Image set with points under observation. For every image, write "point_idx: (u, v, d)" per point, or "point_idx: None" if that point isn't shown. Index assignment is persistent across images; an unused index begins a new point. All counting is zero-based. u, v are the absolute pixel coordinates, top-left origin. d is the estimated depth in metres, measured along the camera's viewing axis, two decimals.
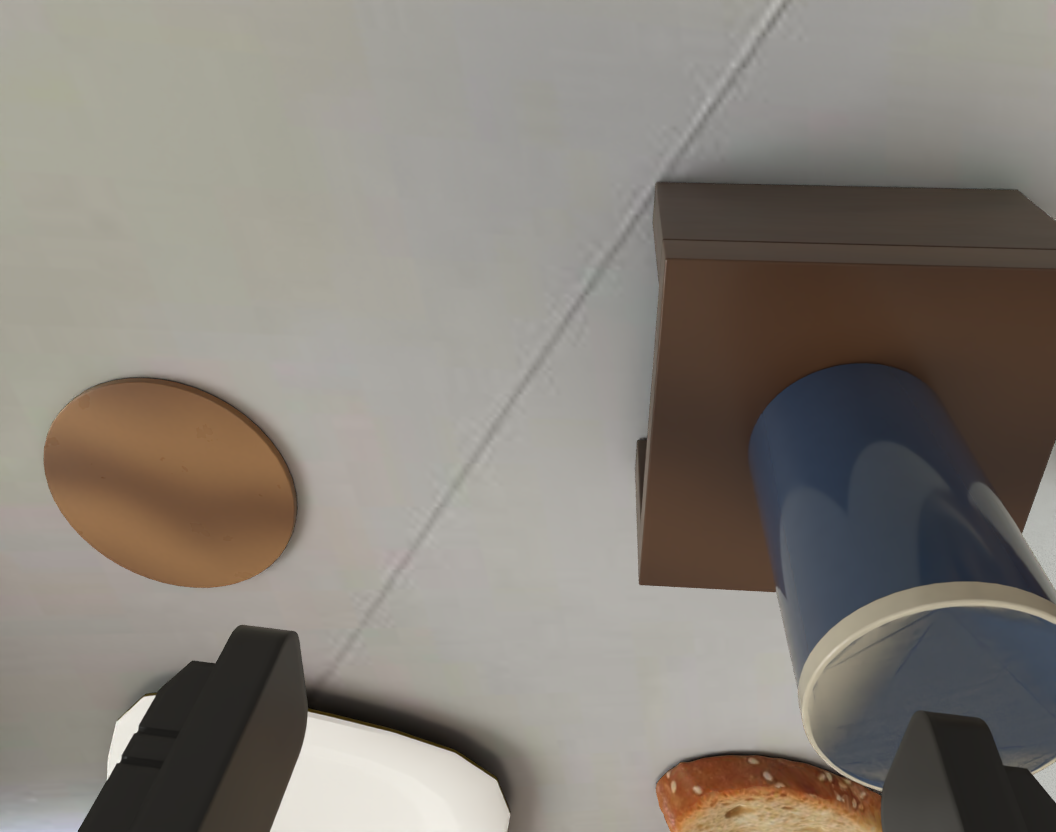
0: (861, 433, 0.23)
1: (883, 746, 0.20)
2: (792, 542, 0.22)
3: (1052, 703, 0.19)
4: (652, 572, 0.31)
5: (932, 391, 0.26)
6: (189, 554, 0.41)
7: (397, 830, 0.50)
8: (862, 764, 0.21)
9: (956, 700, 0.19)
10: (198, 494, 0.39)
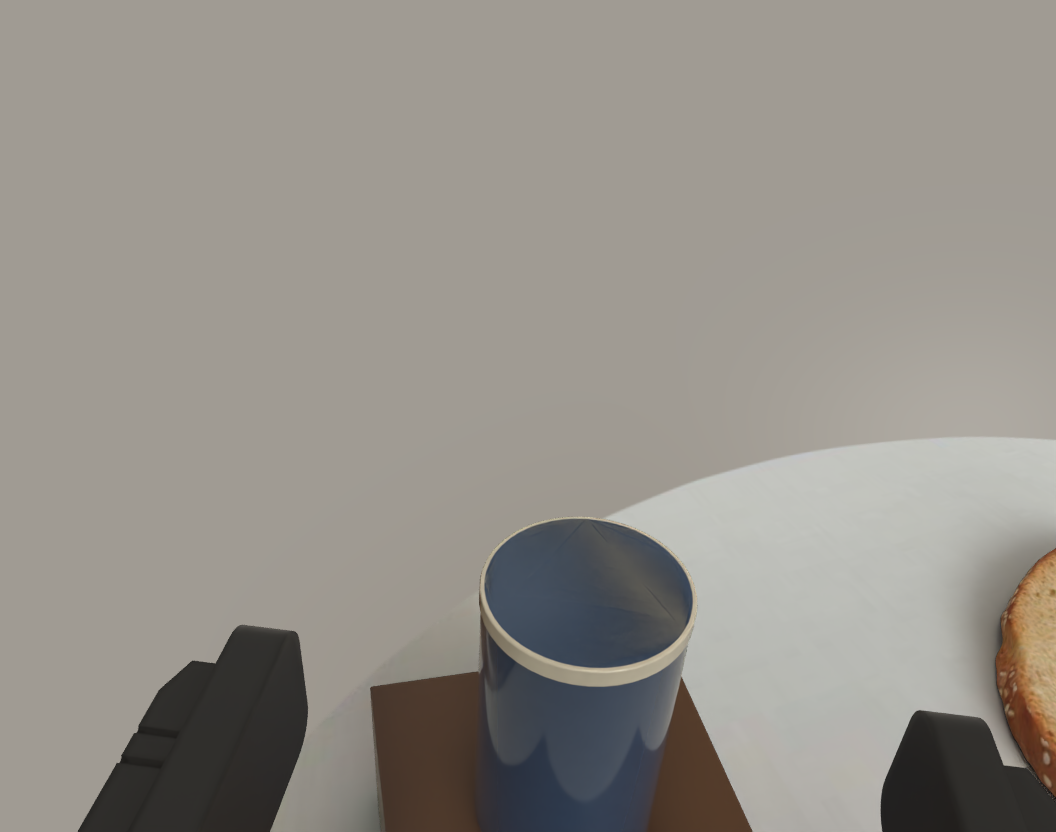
0: (488, 770, 0.28)
1: (647, 608, 0.25)
2: (566, 765, 0.25)
3: (559, 539, 0.27)
4: None
5: None
6: None
7: None
8: (673, 614, 0.25)
9: (579, 584, 0.26)
10: None
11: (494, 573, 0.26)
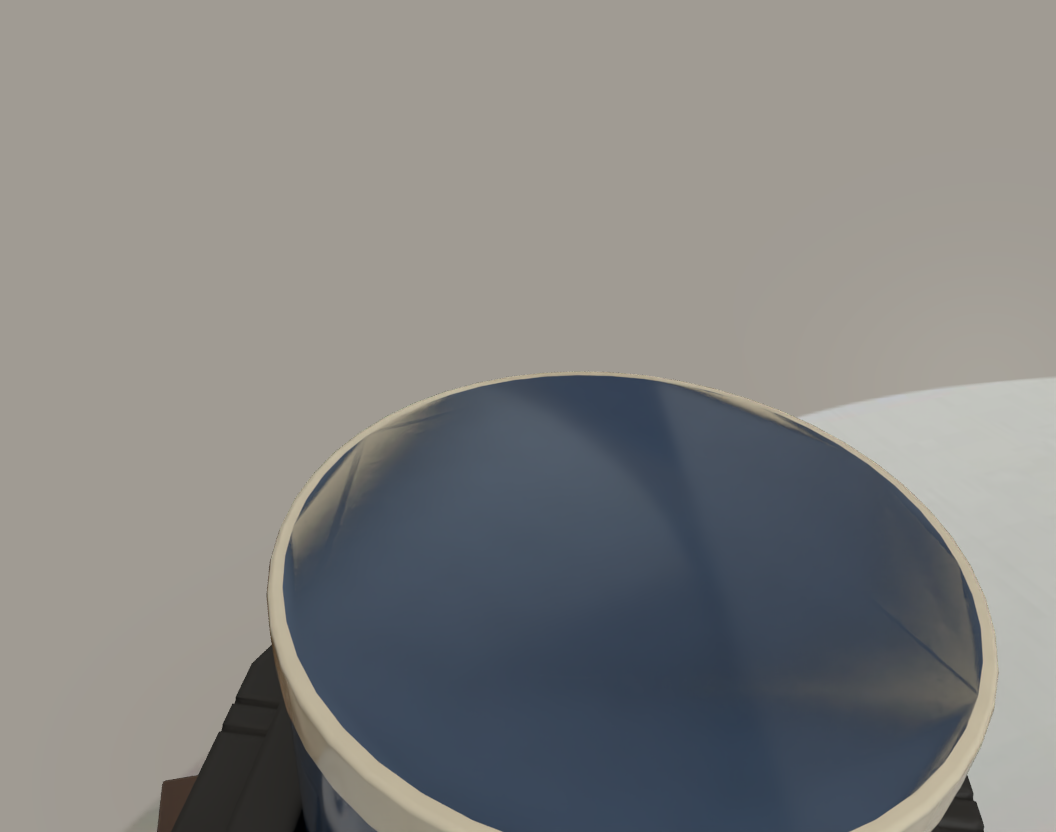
0: None
1: (829, 614, 0.07)
2: None
3: (538, 422, 0.10)
4: None
5: None
6: None
7: None
8: (922, 634, 0.07)
9: (597, 539, 0.08)
10: None
11: (329, 508, 0.08)
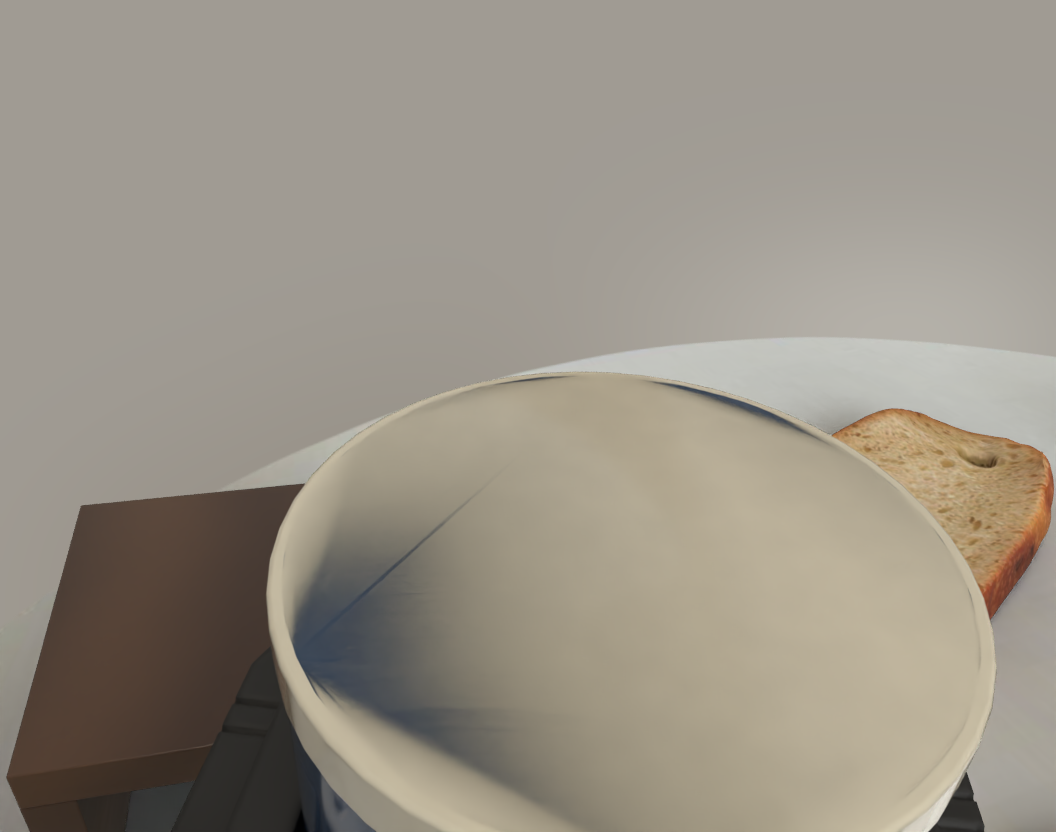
0: None
1: (827, 615, 0.07)
2: None
3: (537, 422, 0.10)
4: None
5: None
6: None
7: None
8: (921, 634, 0.07)
9: (596, 540, 0.08)
10: None
11: (328, 508, 0.08)
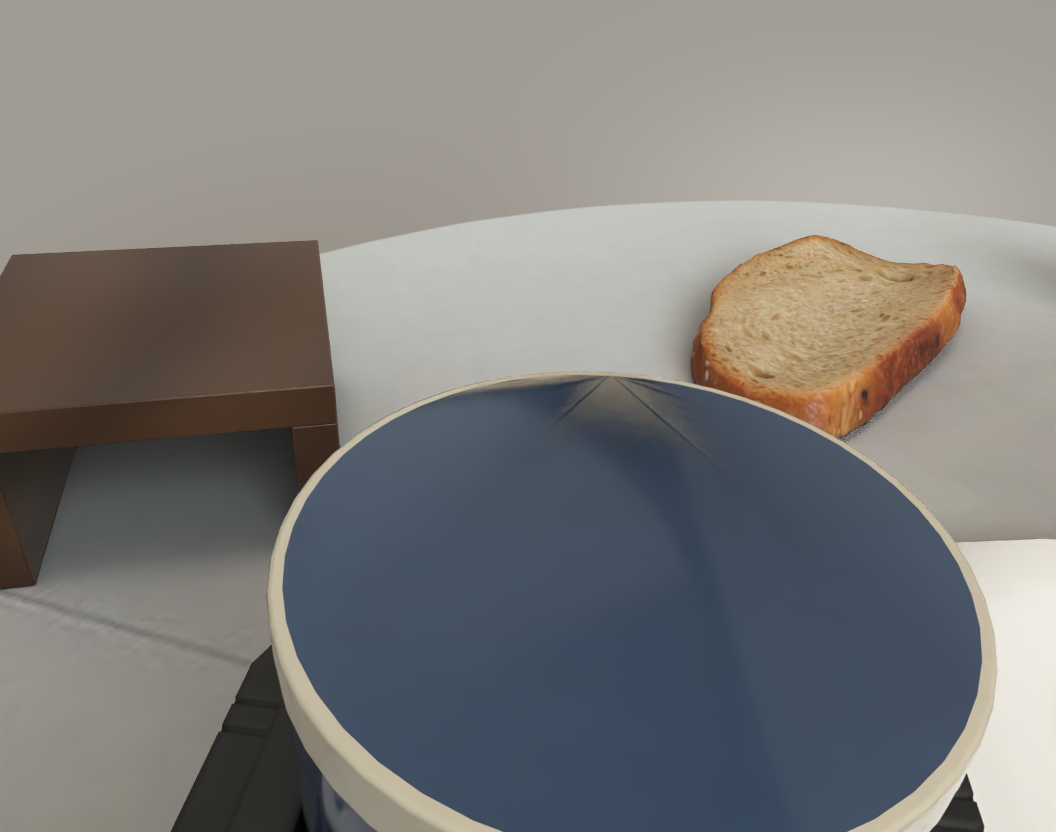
0: None
1: (829, 614, 0.07)
2: None
3: (537, 422, 0.10)
4: (314, 379, 0.30)
5: None
6: None
7: None
8: (921, 634, 0.07)
9: (597, 539, 0.08)
10: None
11: (329, 508, 0.08)
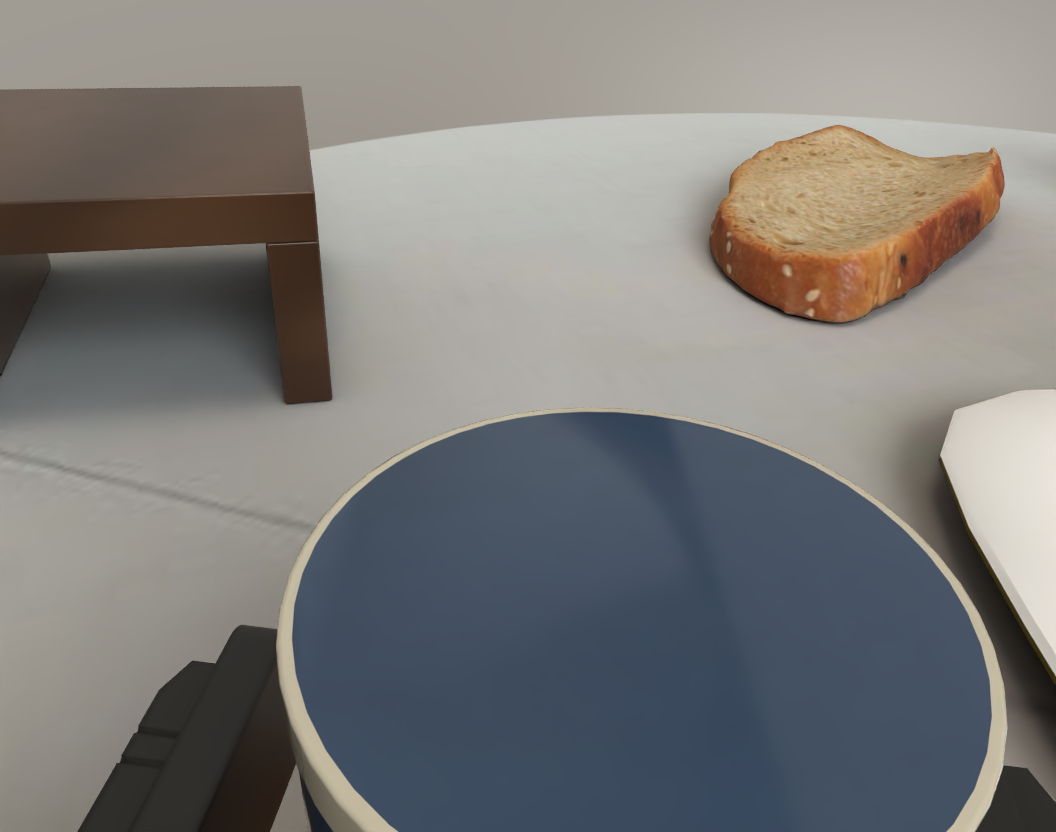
0: None
1: (837, 667, 0.07)
2: None
3: (545, 462, 0.10)
4: (291, 186, 0.26)
5: None
6: None
7: None
8: (931, 689, 0.07)
9: (605, 587, 0.08)
10: None
11: (338, 554, 0.08)
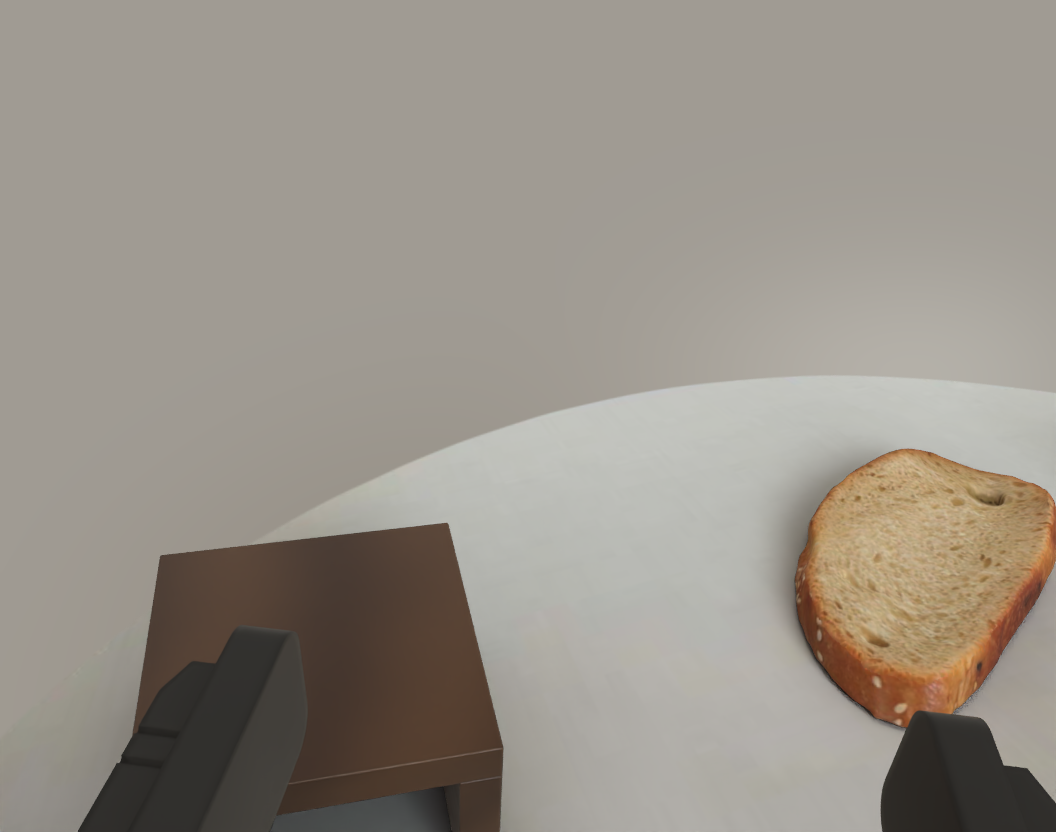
0: None
1: None
2: None
3: None
4: (483, 740, 0.31)
5: None
6: None
7: None
8: None
9: None
10: None
11: None
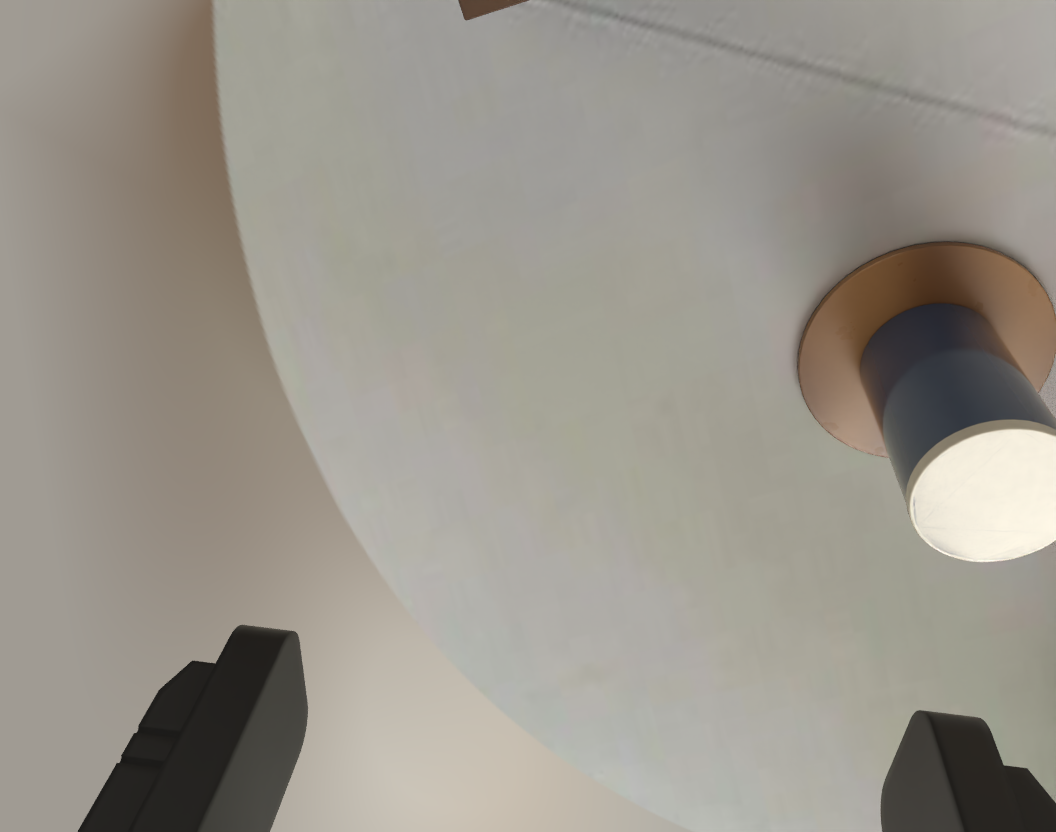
0: None
1: (1040, 516, 0.33)
2: None
3: (987, 454, 0.32)
4: None
5: (872, 340, 0.40)
6: (1007, 340, 0.40)
7: None
8: None
9: (991, 497, 0.33)
10: None
11: (923, 490, 0.33)
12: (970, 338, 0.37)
